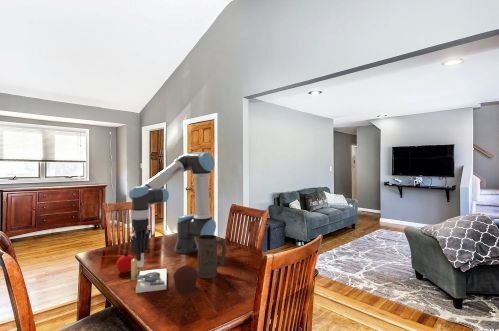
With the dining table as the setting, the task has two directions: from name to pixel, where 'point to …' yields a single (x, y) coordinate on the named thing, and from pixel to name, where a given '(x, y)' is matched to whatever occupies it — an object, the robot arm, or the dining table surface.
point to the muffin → (185, 279)
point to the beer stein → (209, 256)
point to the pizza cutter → (148, 277)
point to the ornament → (124, 263)
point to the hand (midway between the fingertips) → (140, 266)
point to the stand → (154, 285)
